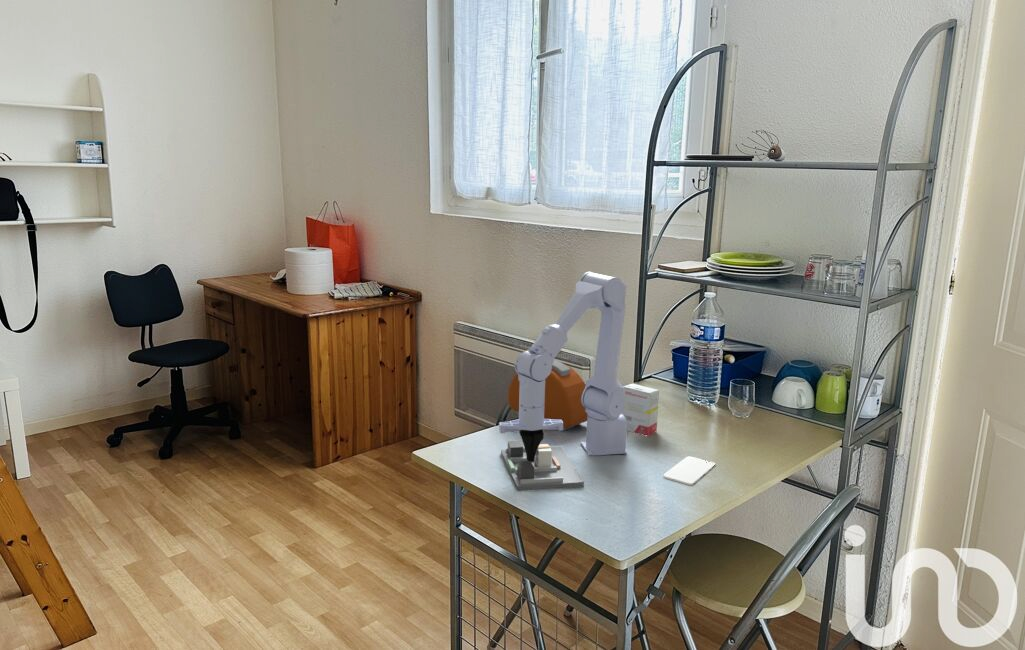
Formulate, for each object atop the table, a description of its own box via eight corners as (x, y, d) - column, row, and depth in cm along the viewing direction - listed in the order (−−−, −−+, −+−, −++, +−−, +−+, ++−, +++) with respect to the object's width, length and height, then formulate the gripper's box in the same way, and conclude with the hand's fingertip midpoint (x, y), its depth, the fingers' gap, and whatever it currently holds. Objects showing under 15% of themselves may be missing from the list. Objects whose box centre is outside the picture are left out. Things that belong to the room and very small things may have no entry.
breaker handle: (547, 459, 177) (547, 443, 176) (551, 467, 173) (551, 449, 172) (534, 460, 176) (535, 443, 175) (538, 467, 172) (539, 450, 171)
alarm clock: (592, 427, 202) (595, 367, 198) (570, 435, 196) (573, 373, 192) (528, 405, 218) (530, 349, 214) (506, 412, 212) (507, 354, 208)
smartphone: (717, 463, 180) (692, 484, 168) (716, 466, 180) (691, 487, 169) (688, 455, 184) (661, 475, 173) (687, 458, 185) (661, 478, 173)
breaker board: (561, 451, 186) (561, 435, 185) (583, 487, 167) (584, 469, 166) (500, 454, 183) (501, 438, 182) (516, 491, 164) (517, 473, 163)
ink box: (657, 431, 200) (660, 389, 197) (648, 437, 196) (651, 393, 193) (629, 423, 205) (631, 382, 202) (619, 428, 201) (622, 386, 199)
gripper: (558, 396, 176) (556, 451, 179) (497, 399, 173) (496, 454, 176) (566, 407, 169) (564, 463, 172) (502, 410, 166) (501, 467, 169)
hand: (530, 460), depth 174 cm, fingers closed
